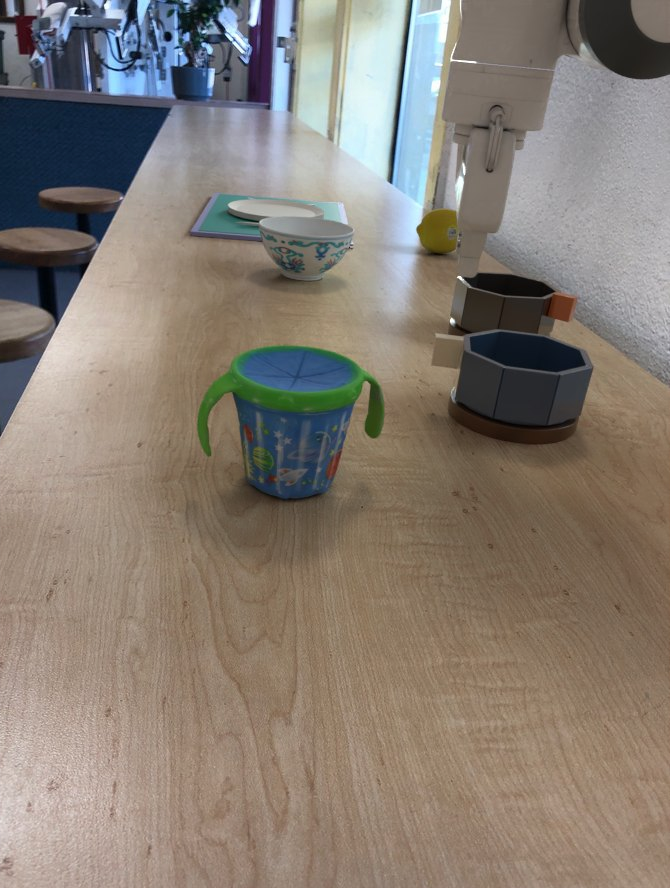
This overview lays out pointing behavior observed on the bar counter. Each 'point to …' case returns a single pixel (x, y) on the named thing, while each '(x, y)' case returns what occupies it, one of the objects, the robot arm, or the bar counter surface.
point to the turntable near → (510, 426)
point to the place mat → (257, 214)
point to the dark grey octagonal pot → (509, 303)
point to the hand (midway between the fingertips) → (464, 264)
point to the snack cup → (293, 415)
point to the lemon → (439, 231)
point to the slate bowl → (516, 375)
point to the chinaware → (305, 244)
